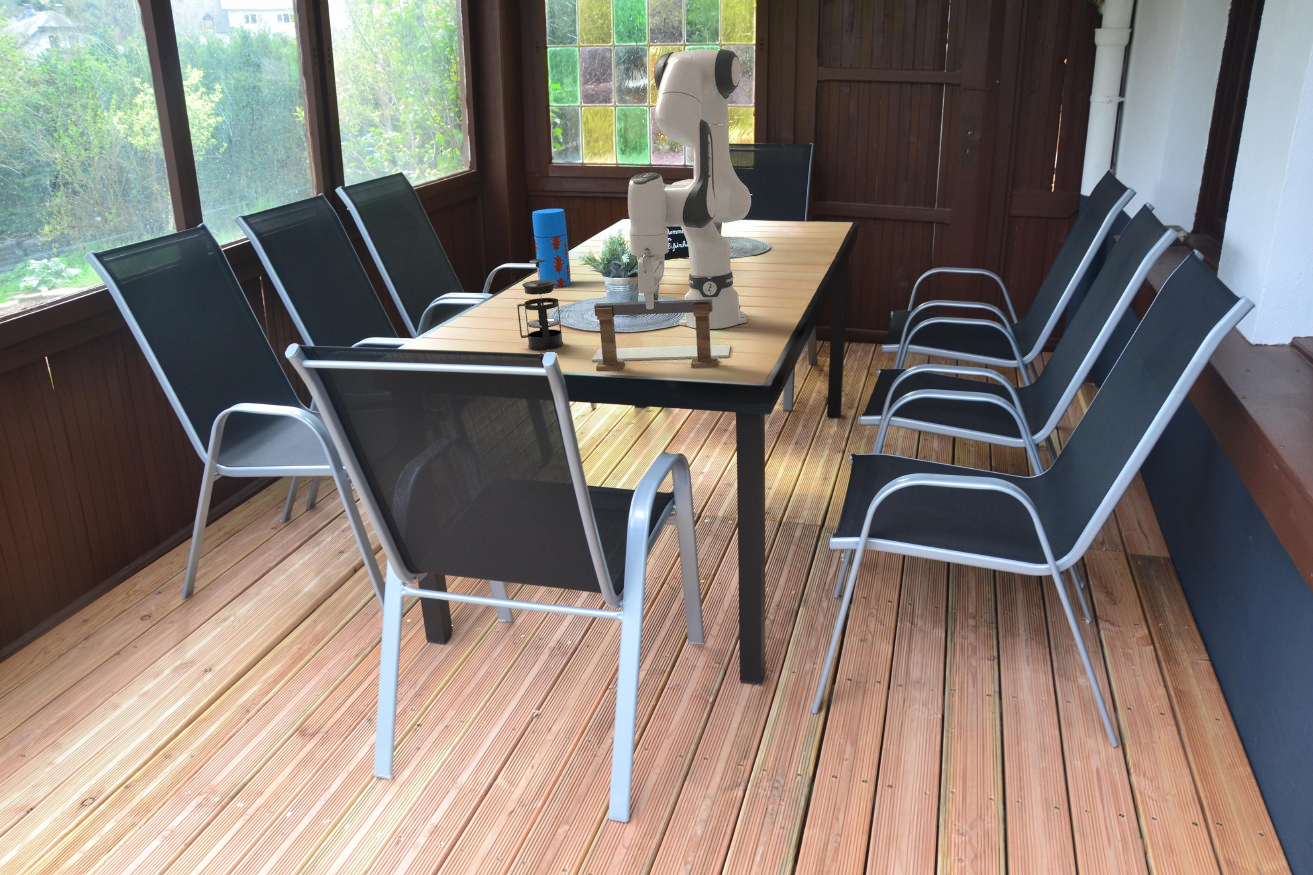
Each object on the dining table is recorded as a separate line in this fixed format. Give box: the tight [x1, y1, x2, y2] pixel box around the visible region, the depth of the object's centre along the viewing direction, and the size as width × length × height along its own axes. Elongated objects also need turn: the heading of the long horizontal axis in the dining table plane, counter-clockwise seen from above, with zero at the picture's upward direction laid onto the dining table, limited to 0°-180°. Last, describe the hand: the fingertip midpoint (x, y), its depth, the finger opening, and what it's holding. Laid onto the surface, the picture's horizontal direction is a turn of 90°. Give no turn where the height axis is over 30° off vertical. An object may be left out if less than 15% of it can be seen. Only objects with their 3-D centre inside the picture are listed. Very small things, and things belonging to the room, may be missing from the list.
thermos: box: [532, 208, 572, 289], centre depth 344 cm, size 11×11×25 cm
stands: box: [595, 304, 719, 371], centre depth 244 cm, size 6×29×15 cm, turn 83°
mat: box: [591, 344, 731, 363], centre depth 256 cm, size 10×34×1 cm, turn 83°
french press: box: [516, 258, 564, 351], centre depth 268 cm, size 12×9×23 cm
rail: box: [593, 299, 713, 317], centre depth 242 cm, size 2×28×2 cm, turn 84°
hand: (652, 304), depth 241 cm, fingers open, 8 cm apart
